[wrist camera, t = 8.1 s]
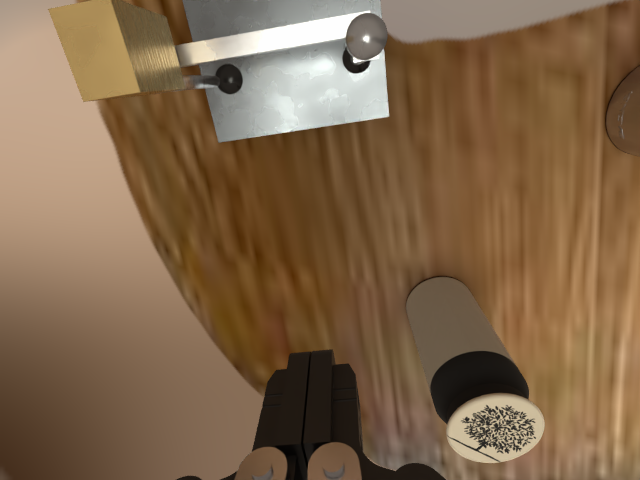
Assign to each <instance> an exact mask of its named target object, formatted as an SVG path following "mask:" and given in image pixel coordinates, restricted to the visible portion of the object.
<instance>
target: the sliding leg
mask: <svg viewBox="0 0 640 480" xmlns="http://www.w3.org/2000/svg"><path fill="white" fill-rule="evenodd" d="M48 10H49V12H50V15H51V18H52V20H53V23H54V26H55V28H56V30H57V33H58V36H59V39H60V41H61V44H62V46H63V49H64V52H65V54H66V57H67V60H68V62H69V65H70V67H71V70H72V73H73V75H74V78H75V80H76V83H77V86H78V89H79V91H80V94H81V96H82V99H83V101H84V102H86V101H96V100H106V99H116V98H125V97H135V96H144V95H150V94H158V93H164V92H171V91H182V90H192V89H203V88H214V87H218V86H219V85H220V79H219V78H218V77H217V76H213V75H182V73H181V69H180V65H179V62H178V58H177V54H176V51H175V47H174V43H173V40H172V36H171V33H170V29H169V25H168V22H167V18H166V16H163V15H160V14H157V13H154V12H151V11H149V10H146V9H143V8H140V7H137V6H134V5H131V4H129V3H126V2H123V1H120V0H92V1H87V2H82V3H76V4H71V5H67V6H62V7H57V8H51V9H48Z"/></svg>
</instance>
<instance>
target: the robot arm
mask: <svg viewBox="0 0 640 480" xmlns="http://www.w3.org/2000/svg"><path fill="white" fill-rule="evenodd" d="M606 127H607V132H608V135H609V137H610V139H611V141H612V142H613V143H614V145H615V146H616V147H617V148H619V149H620V150H622V151H624V152H625V153H629V154H632V155H636V156H639V157H640V66H639V67H638V68H636V69H635V70H634V71H633V72H631V73H630V74H629V75H628V76H627V77H626V78H625V79H624V80H623V81H622V83H621V84H620V85H619V87H618V88H617V90H616V91H615V93H614V95H613V97H612V99H611V101H610V103H609V107H608V111H607V116H606ZM177 480H201V479H200V478H198V477H196V476H185V477H182V478H179V479H177ZM221 480H446V479H445V478H443V477H442V476H441V475H440V474H439V473H438V472H437V471H435V470H434V469H433V468H431V467H429V466H427V465H424V464H419V463H411V464H406V465H404V466H402V467H400V468H399V469H398V470H397V471H393V470H390V469H386V468H383V467H380V466H378V465H376V464H374V463H373V462H371V461H370V460H369V459H368V458H367V457H366V456H365V454H364V453H363V440H362V427H361V413H360V403H359V396H358V389H357V382H356V375H355V373H354V371H353V370H352V368H351V367H350V365H349V364H338V365H336V364H335V358H334V353H333V350H321V351H312V353H311V352H300V353H291V354H290V355H289V360H288V366H287V369H282V370H276V371H275V372H274V374H273V375H272V377H271V378H270V379H269V381H268V383H267V387H266V392H265V397H264V401H263V408H262V410H261V414H260V419H259V424H258V427H257V432H256V436H255V441H254V445H253V449H252V452H251V453H250V454H248V455H247V456H246V457H245V458H244V460H243V461H242V462H241V464H240V466H239V468H238V470H237V472H235V473H234V474H232V475H230V476H228V477H226V478H223V479H221Z"/></svg>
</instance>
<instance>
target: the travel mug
mask: <svg viewBox="0 0 640 480" xmlns="http://www.w3.org/2000/svg"><path fill="white" fill-rule="evenodd" d="M406 311H407V315H408V319H409V322H410V325H411V329H412V332H413V335H414V339H415V342H416V345H417V349H418V352H419V356H420V359H421V362H422V366H423V369H424V372H425V376H426V379H427V382H428V386H429V389H430V393H431V396H432V399H433V403H434V406H435V409H436V412H437V414H438V415H439V417H440V418H441V419H442V420H443V421H444V422H445V423H446V424H447V428H446V435H447V439H448V442H449V444H450V445H451V447H452V448H453V449H454V450H455V451H456V452H457V453H458V454H460V455H461V456H463V457H465V458H467V459H470V460H473V461H477V462H483V463H497V462H504V461H508V460H511V459H514V458H517V457H519V456H521V455H523V454H525V453H526V452H528V451H529V450H531V449H532V448H533V447H534V446H535V445H536V444H537V443H538V441H539V440H540V438H541V437H542V435H543V432H544V425H545V423H544V418H543V415H542V413H541V411H540V409H539V408H538V407H537V406H536V405H535V404H534V403H532V402H531V401H530V400H528V398H529V389H528V385H527V383H526V381H525V379H524V377H523V376H522V374H521V373H520V371H519V369H518V368H517V366H516V365H515V363H514V361H513V360H512V358H511V357H510V355H509V353H508V352H507V350H506V348H505V347H504V345H503V344H502V342H501V340H500V339H499V337H498V336H497V334H496V332H495V331H494V329H493V328H492V326H491V324H490V323H489V321H488V319H487V318H486V316H485V315H484V313H483V311H482V310H481V308H480V307H479V305H478V303H477V302H476V300H475V299H474V297H473V295H472V294H471V292H470V290H469V289H468V288H467V287H466V286H465V285H464V284H463V283H462V282H460V281H458V280H456V279H453V278H448V277H437V278H432V279H429V280H426V281H424V282H422V283H421V284H419V285H418V286H417V287H416V288H415V289H414V290H413V291H412V292H411V293H410V295H409V297H408V299H407V303H406Z"/></svg>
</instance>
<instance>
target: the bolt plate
mask: <svg viewBox="0 0 640 480" xmlns="http://www.w3.org/2000/svg"><path fill="white" fill-rule="evenodd" d="M183 4H184V8H185V12H186V16H187V20H188V24H189V28H190V32H191V36H192V39H193V43H187V44H182V45H176V46H174V47H175V51H176V54H177V58H178V62H179V65H180V68H182V67H187V66H193V65H199V67H200V71H201V75H213V76H217V77H218V78H219V79H220V85H219V86H218V87H214V88H205V91H206V95H207V98H208V102H209V106H210V110H211V114H212V118H213V122H214V126H215V130H216V134H217V138H218V142H225V141H232V140H238V139H245V138H252V137H258V136H265V135H271V134H278V133H284V132H291V131H298V130H304V129H311V128H317V127H324V126H331V125H337V124H344V123H350V122H357V121H364V120H370V119H377V118H383V117H389V110H388V96H387V83H386V69H385V55H384V47H385V45H386V42H387V28H386V26H385V23H384V22H383V20H382V15H381V2H380V0H183Z"/></svg>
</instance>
